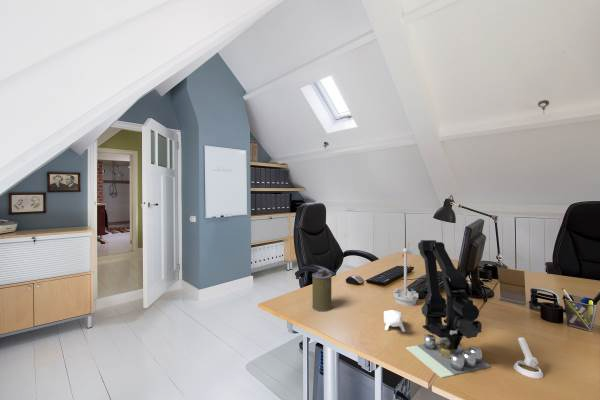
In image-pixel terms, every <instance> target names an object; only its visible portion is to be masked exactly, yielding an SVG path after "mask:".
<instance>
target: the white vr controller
mask: <svg viewBox="0 0 600 400" xmlns="http://www.w3.org/2000/svg"><path fill="white" fill-rule="evenodd" d="M517 341H518V343H519V346H520V348H521V351H522V353H523V355H524V360H517V361H516V362H515V363H513V364H514V365H513V368H514V370H515V371H516V372H517V373H519V374H521V375H523V376H525V377H528V378H531V379H542V378H543V377H544V373H543V371H542V369H541V367H539V366H538V364H539V361H538V359H537V358H536V357H535V356H533V355H532V352H531V350H530V347H529V345H528V343H527V341H526V338H525V337H521V336H520V337H518V338H517ZM520 365H523V366H526V367H527V366H528V367H531V368H533V369H535V370H537V371H531V370H528V369H526V368H524V367H522V366H520Z"/></svg>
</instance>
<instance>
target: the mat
mask: <svg viewBox="0 0 600 400" xmlns="http://www.w3.org/2000/svg"><path fill="white" fill-rule="evenodd" d="M439 343H440V340H439V341H437V340H436V349H435V350H429V349H426V348H425V347H424V343H422V344H417V345H413V346H407V347H406V346H405V348H406V350H408V351H409V353H411V354H412V355H413V356H414V357H416V358H417V359H418V360H419V361H421V362H422V363H423V365H425V366H427V368H428V369H430V370H431V371H432V372H434V374H436V375H437V376H438V377H439V378H441V379H444V378H447V377H453V376H456V375H460V374H461V375H462V374H465V373H470V372H473V371H474V372H475V371H479V370H483V369H487V368H491V367H492V365H491V364H489V363H487V362H486V361H484V360H483V359H482V363H481V364H476V368H474V369H470V368H467V367H465V366H464V371H456V370H454V369H453V368H451V359H448V358H445V357H441V356H440V355H439V353H438V352H437V345H438V344H439ZM464 350H467V349H465V348H464V347H462V346H461V345H459V346H458V348H457V350H455V353H459V354H461V355H462V351H464Z"/></svg>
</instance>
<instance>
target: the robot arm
mask: <svg viewBox="0 0 600 400" xmlns="http://www.w3.org/2000/svg"><path fill="white" fill-rule="evenodd" d="M417 248H418V251H419V254H420V257H422V258H423V260H424V267H425V277H426V284H427V294H426V296H425V298H424V304H423V305H422V307H421V314H422V315H423V316H424V318H425V324H424V325H422V328H423V329H425V330H426V331H428V332H430V333H431V334H434V335H435V336H437V337H439V339H440V338H445V337H448V339H449V341H450V343H451V345H452V346H453V347H454V348H455V350H457V348H458V346H460V343H461V341H462V339H463V337H465V338H466V339H471V338H476V337H477V336H478V335H479V333H482V328H483V327H482V323H481V322H480V321H479V320H477V319H478V317H479V316H480V310H479V308H478V307H477V306H476V305H475V304H474V300H472V299H471V298H473V294H472V293H473V291H472V289H471V287H470V285H469V281H468V279H467V278H466V276H465V275H464V274H463V272H462V271H460V270H459V269H457V268H456V266H455V265H454V263H453V261H452V259H451V257H450V255H449V254H448V252H447V250H446V247H445V244H444V242H442V241H437V240H435V239H429V240H428V239H420V241H419V242H418V244H417ZM437 264H438V265H437ZM438 266H439V269H440V270H441V273H442V277H441V280H442V286H443V288H444V293H446V294H445V296H446V297H443V295H442V294H441V289H440V283H439V282H440V281H439V273H438ZM443 323H444V324H445V325H444V324H443Z"/></svg>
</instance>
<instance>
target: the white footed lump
mask: <svg viewBox="0 0 600 400" xmlns="http://www.w3.org/2000/svg"><path fill="white" fill-rule="evenodd" d="M383 323H384V324H385V326H384V331H385V332H387V331H389V327H393V328H396V327H399V329H400V330H401V331H402V333H406V329H405V327H404V324H403V317H402V312H400V311H398V310H393V309H390V310H385V311H383Z"/></svg>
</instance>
